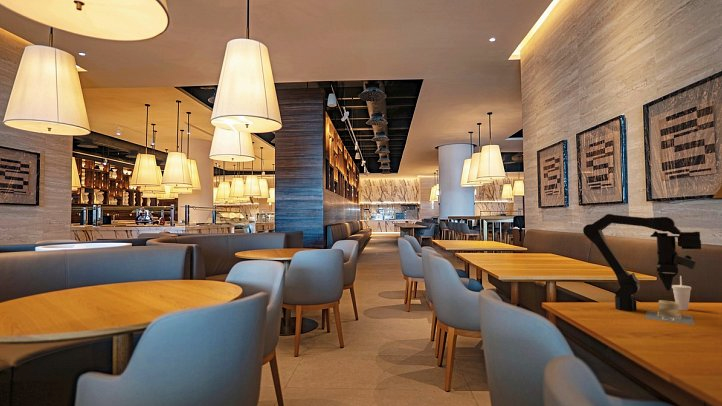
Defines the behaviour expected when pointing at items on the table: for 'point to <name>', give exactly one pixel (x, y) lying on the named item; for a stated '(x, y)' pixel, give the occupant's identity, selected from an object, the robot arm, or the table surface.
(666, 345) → the table surface
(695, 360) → the table surface
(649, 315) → the board
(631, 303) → the robot arm
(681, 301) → the smoothie
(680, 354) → the table surface
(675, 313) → the maple block
